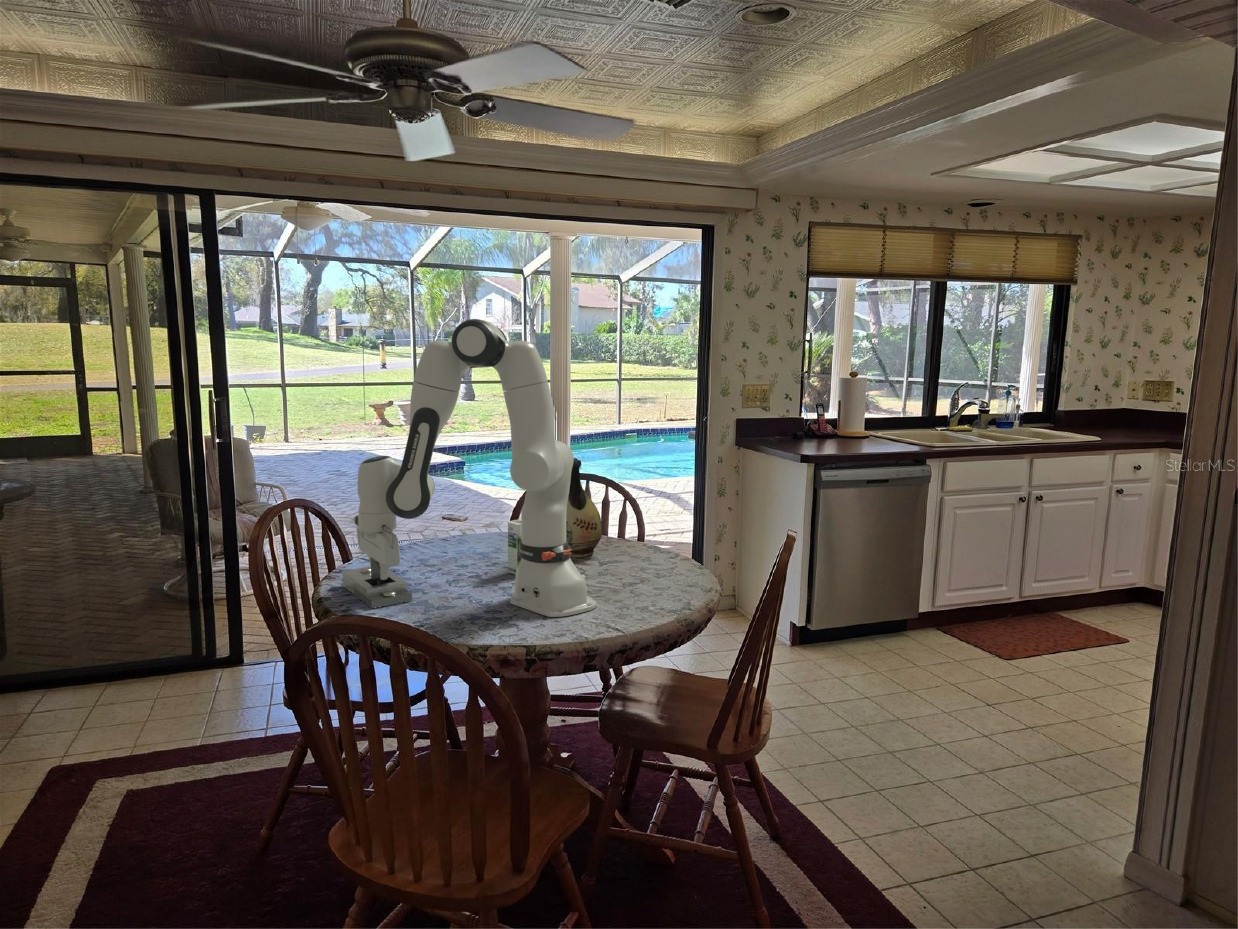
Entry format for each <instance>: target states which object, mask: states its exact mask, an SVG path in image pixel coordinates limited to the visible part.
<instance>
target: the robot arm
mask: <svg viewBox="0 0 1238 929" xmlns="http://www.w3.org/2000/svg"><path fill="white" fill-rule="evenodd" d="M451 336H452V337H451V341H448V340H442V339H441V340H439V339H437V340H433V341H430V342H429V343H427V344H426V346H425V347H424V349H423V351H422V354H421V356H420V359H419V361H418V364H417V367H416V370H415V374H414V378H413V382H412V387H411V393H410V407H409V409H410V411H409V412H410V413H409V427H408V428H409V430H408V431H409V432H408V436H407V442H406V444H405V445H406V446H405V448H404V452H403V457H402V462H399V461H397V460H395V459H394V458H392V456H389V455H380V456H379V455H378V456H374V457H370V458H367V459H365V460H364V461H363V462H361V463H360V464H359V466H358V471H357V495H358V499H359V506H358V514H356V515H354V524H355V525H356V537H357V538H356V539H357V545H358V547H359V550H360V552H362V553H363V554H365V555H366V556H368V561H369V564H370V566H371V562H370V557H371V558H373V559H374V560H375V561H377V562H378V563H379V566H380V572H379V578H380V579H381V580H385V579H387V578H388V570H389V571H390V568H393V567H398V566H399V565H400V563H401V553H400V552H401V551H400V544H399V538H398V536H397V535H396V534H395V533H394V532H393V531H394V530H396V529H397V526H398V524H397V517H398V518H401V519H405V520H407V519H408V520H410V519H416V518H419V517H420V516H423V514H425V512H426V511H427V510H428V508H429V506H430V502H431V500H432V497H433V495H434V493H435V487H436V486H435V481H434V479H433V477H432V476H431V475H430V473H429V471H430V466H431V461H432V458H433V454H434V450H435V445H436V442H437V440H438V437H439V436H440V434H441V432H442V430H443V429H444V427H445V426H446V425H447V423H448V421H449V420H450V418H451V416H452V414H453V412H454V409H455V406H456V404H457V401H458V398H459V394H460V389H461V384H462V380H463V377H464V375H465V373H466V371H467V370H468V369H475V368H477V369H478V368H491V367H492V368H493V369H495V371H496V372H497V374H498V376H499V379H500V383H501V384H500V385H501V387H502V392H503V396H504V400H505V406H506V410H507V413H508V414H507V415H508V420H509V425H510V426H509V427H510V439H511V440H510V442H511V463H510V466H509V467H510V468H509V474H510V477H511V479H512V481H513V483H514V484H515V485H516V486H517V487H518V488H519V489H522V490H523V491H525V497H524V502H523V505H522V508H521V515H520V516H521V519H520V520H521V530H522V541H521V542H520V547H519V551H520V557H521V561H520V564H519V566H518V567H517V569H516V575H515V581H514V591H513V592H514V593H513V596H512V597H511V598H510V600H509V601H510V602H509V604H511V605H514V606H516V607H519V608H523V609H526V610H528V611H531V612H533V613H537V614H539V615H542V616H544V617H545V616H546V617H549V618H556V617H557V618H558V617H560V618H561V617H566V616H567V617H568V616H573V615H577V614H582V613H585V612H589V611H591V610H594V609H596V608H597V607H598V602H597V601H596V600H594V598H592V597H591V596H589V595H588V589H587V583H586V582H587V577H586V575H585V574H581V572H580V571H579V569H578V567H577V566H576V565H575V564H574V562H573V561H572V559H571V558H572V557H571V554H572V553H570V551H571V550H572V549H570V548H569V545H568V542H567V541H566V511H567V502H568V495H569V489H570V480H571V471H572V467H573V463H574V458H575V456H574V452H573V451H572V449H571V447H570V446H569V445H567V444H566V443H565V442H562V441H560V440H556V439H555V418H556V412H555V407H554V402H553V398H552V394H551V390H550V384H549V382H548V381H549V380H548V377H547V373H546V370H545V367H544V364H543V361H542V359H541V356H540V353H539V350H538V349H537V347H536V345H534V344H533V343H531V342H530V341H527V340H514V341H510V340H509V341H508V339H507V337H506V335H505V333H504V331H503V330H502V329H501V328H499V327H498V326H496V325H495V324H493V323H492V322H490V321H487V320H482V319H479V318H470V319H467V320H463V321H462V322H461V323H459V324H458V325H457V326H456V327H455V329H454V331H453V334H452V335H451Z"/></svg>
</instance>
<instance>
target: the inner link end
mask: <svg viewBox="0 0 1238 929" xmlns="http://www.w3.org/2000/svg"><path fill="white" fill-rule="evenodd" d="M353 595H354V596H355V597H356V596H357V597H358V598H357V597H356V598H357V599H359V600H360V599H361V600H362V601H363V602H362V601H361V600H360V601H361V602H362V603H364V602H365V603H366V604H367V605H366V604H365V603H364V604H365V605H366V606H367V607H369V606H370V607H371V608H374V609H376V608H375V607H379V606H385V607H388V606H389V607H390V606H393V605H394V604H395V605H400V604H404V603H403V602H405V603H410V602H413V593H412V592H411V591H409V590H408V589H407V590H406V591H400V592H395V591H387V592H383V595H378V596H373V597H368V598H367V597H366V596H365V595H363V594H362V593H361V592H359V591H358V590H357V589H356V588H354V594H353ZM399 603H400V604H399ZM370 607H369V608H370ZM371 608H370V609H371ZM379 608H380V607H379Z"/></svg>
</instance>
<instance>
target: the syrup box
mask: <svg viewBox="0 0 1238 929" xmlns="http://www.w3.org/2000/svg"><path fill="white" fill-rule="evenodd" d="M521 541H522V530H521V519H514V520H513V519H512V520H509V521H508V522H507V573H509V574H513V575H515V576H516V569H517V567H518V566H519V564H520V561H521V557H520V551H519V547H520V542H521Z"/></svg>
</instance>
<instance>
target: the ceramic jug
mask: <svg viewBox="0 0 1238 929" xmlns="http://www.w3.org/2000/svg"><path fill="white" fill-rule="evenodd" d="M581 467H582V461H581V460H580V459H578V458H576V457H574V463H573V467H572V471H571V480H570V489H569V495H568V502H567V511H566V541H567V542H568V545H569V548H570V549H572V550H571V551H570V553H572V554H571V557H570V558H583V557H587V556H592V555H594V553H595V550H594V549H596V548H597V546H598V544H599V543H600V541H601V539H602V536H603V530H604V529H603V522H602V518H601V515H600V512H599V509H598V507H597V506H596V505H595V502H594V501H593V500H592V498H591V497H590V496H589V495H588V493H587V492H586V489H585V490H584V488H583V484H582V483H581V472H580V468H581Z"/></svg>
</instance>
